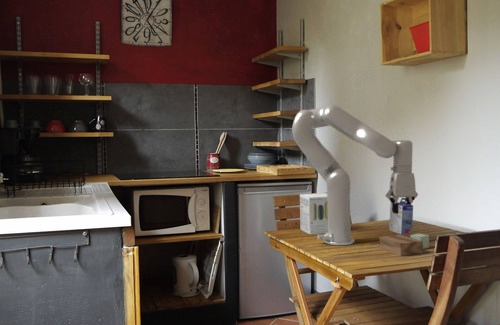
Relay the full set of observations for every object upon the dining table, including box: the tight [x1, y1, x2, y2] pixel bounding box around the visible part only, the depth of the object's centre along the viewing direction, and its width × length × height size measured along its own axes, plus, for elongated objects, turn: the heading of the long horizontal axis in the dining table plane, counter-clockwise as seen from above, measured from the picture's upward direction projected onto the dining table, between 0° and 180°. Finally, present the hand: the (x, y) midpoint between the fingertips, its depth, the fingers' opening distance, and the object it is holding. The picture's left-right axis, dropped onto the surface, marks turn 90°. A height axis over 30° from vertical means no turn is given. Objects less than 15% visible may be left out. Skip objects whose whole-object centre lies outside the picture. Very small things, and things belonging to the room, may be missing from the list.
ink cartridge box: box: [388, 197, 414, 235], centre depth 217 cm, size 10×6×14 cm, turn 16°
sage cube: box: [409, 233, 430, 250], centre depth 207 cm, size 5×5×5 cm
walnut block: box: [379, 234, 424, 257], centre depth 202 cm, size 10×14×5 cm
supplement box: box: [299, 192, 328, 235], centre depth 246 cm, size 13×13×18 cm
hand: (401, 212), depth 217 cm, fingers closed on ink cartridge box, 5 cm apart
